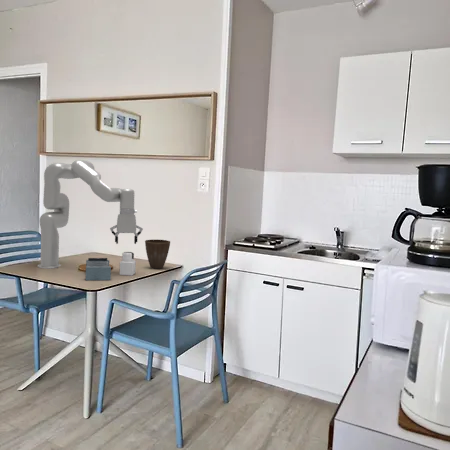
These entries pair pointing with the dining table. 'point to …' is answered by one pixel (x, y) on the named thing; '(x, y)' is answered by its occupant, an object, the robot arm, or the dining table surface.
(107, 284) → the dining table surface
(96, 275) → the base
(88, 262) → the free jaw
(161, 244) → the plant pot
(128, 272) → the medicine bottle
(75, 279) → the dining table surface
